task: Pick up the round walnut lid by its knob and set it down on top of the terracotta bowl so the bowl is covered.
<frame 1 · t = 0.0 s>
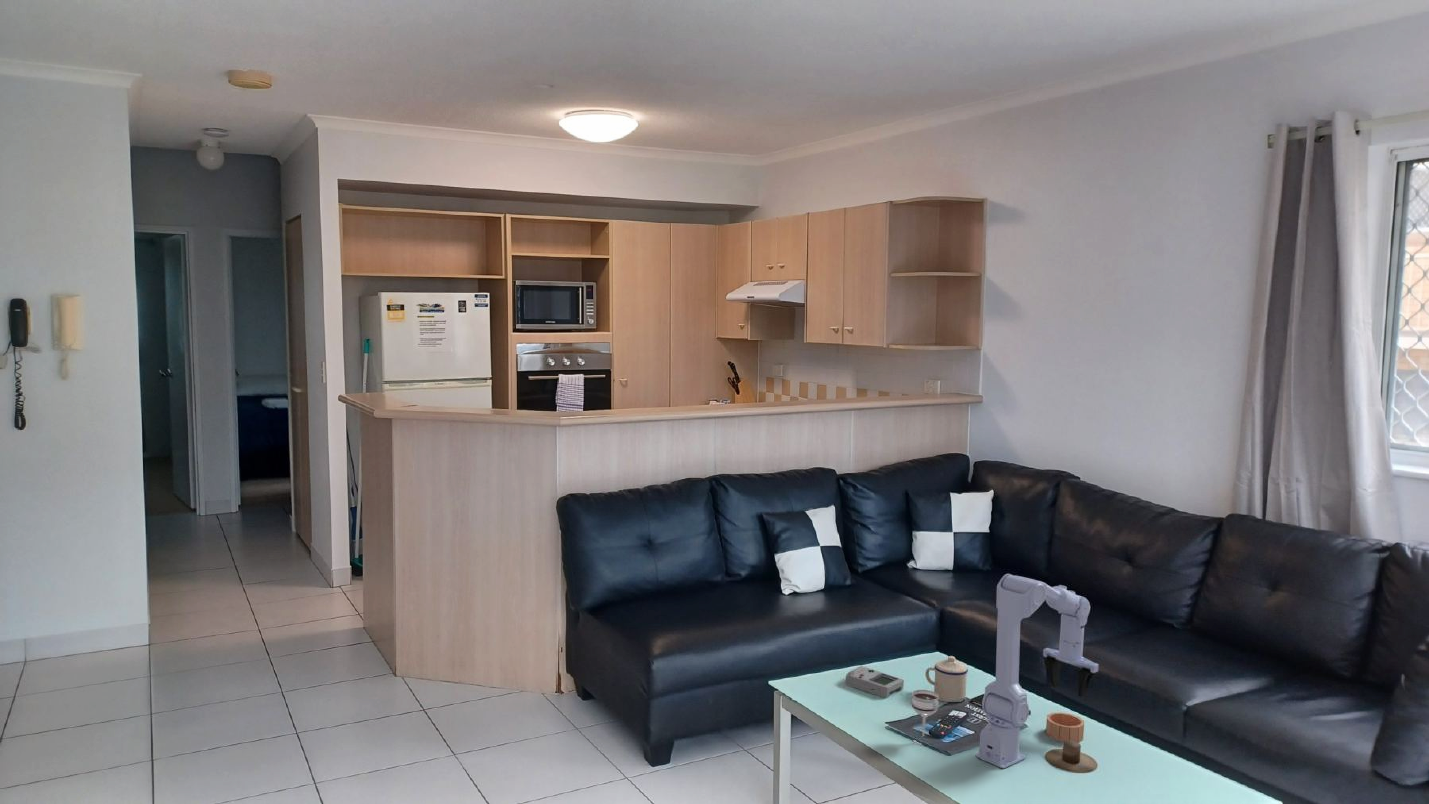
hand: (1068, 690, 249), 10 cm above the table, tool pointing down, fingers open, 7 cm apart
terracotta bowl: (1064, 734, 246), on the table
wineglass: (923, 741, 240), on the table
teacup with lid: (944, 696, 269), on the table
handheld gaming device: (873, 689, 274), on the table
phone: (999, 709, 262), on the table
walnut lid: (1070, 762, 232), on the table
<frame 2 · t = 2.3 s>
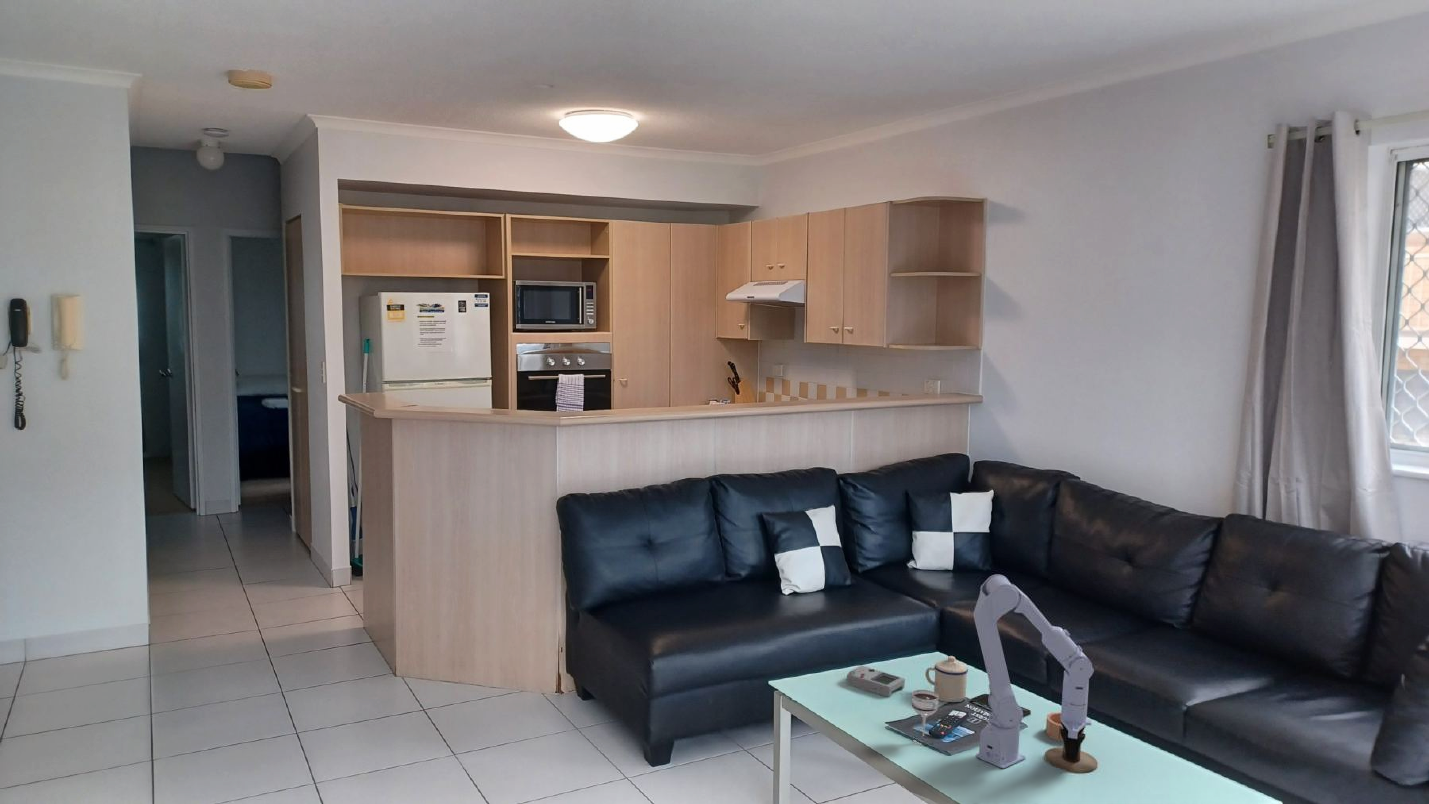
hand: (1071, 755, 231), 1 cm above the table, tool pointing down, fingers closed on walnut lid, 4 cm apart
walnut lid: (1070, 760, 232), on the table, touching gripper
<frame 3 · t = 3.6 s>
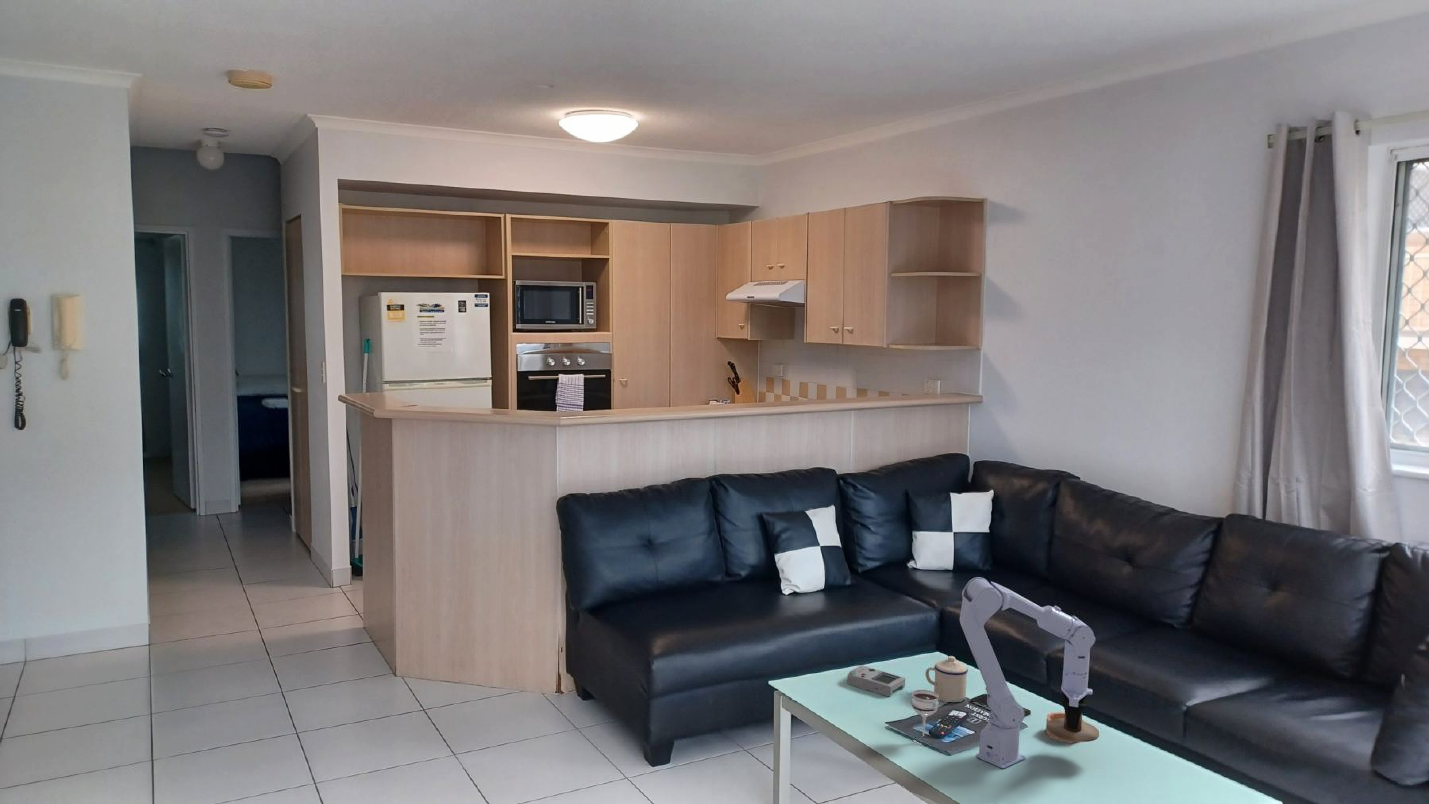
hand: (1072, 724, 232), 8 cm above the table, tool pointing down, fingers closed on walnut lid, 4 cm apart
walnut lid: (1072, 730, 232), point 7 cm above the table, touching gripper
when the fingers open (6 cm above the table, at t = 5.2 s): walnut lid stays where it is, resting on terracotta bowl.
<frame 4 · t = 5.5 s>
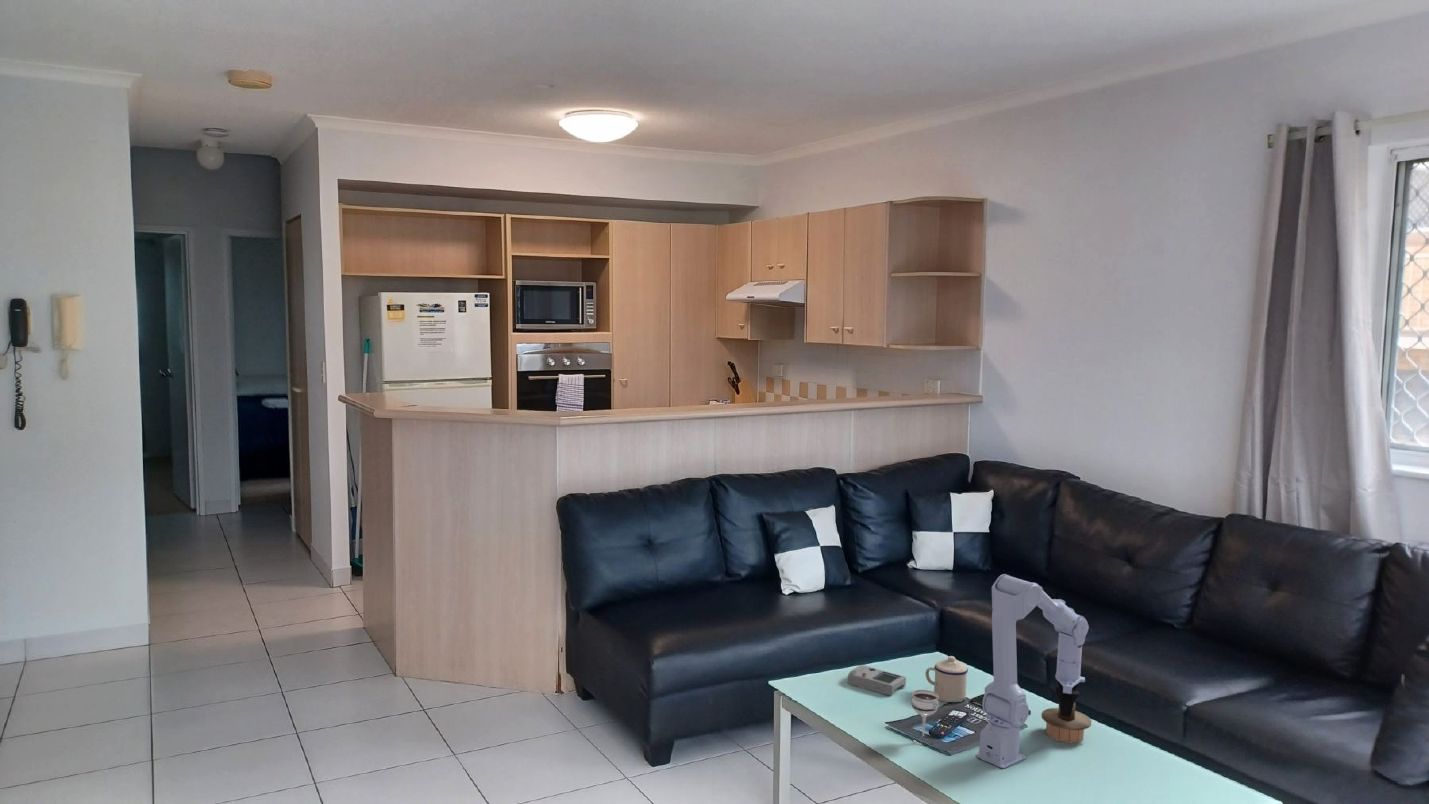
hand: (1065, 710, 245), 6 cm above the table, tool pointing down, fingers open, 6 cm apart
walnut lid: (1066, 719, 246), point 4 cm above the table, touching terracotta bowl
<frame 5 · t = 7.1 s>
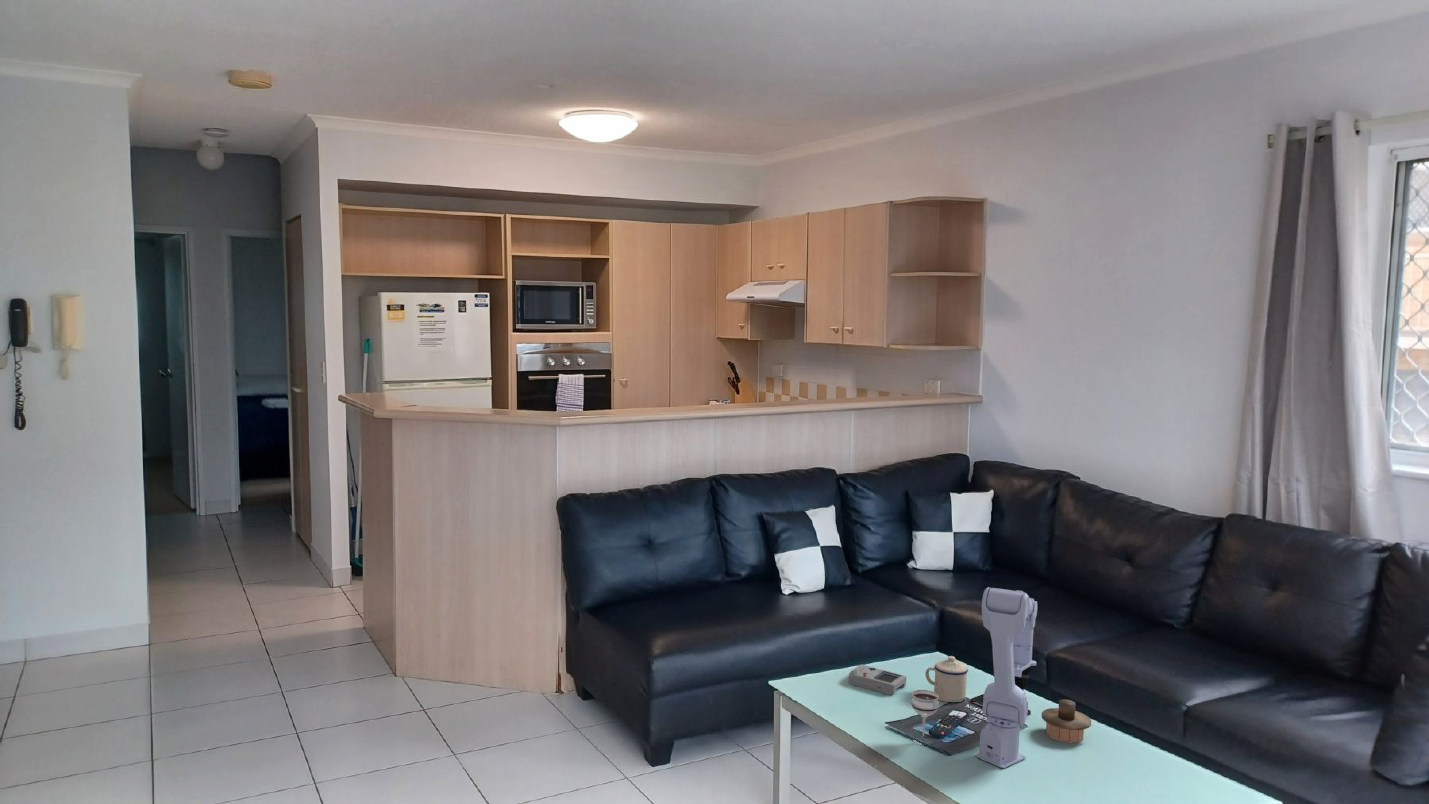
hand: (1017, 694, 246), 10 cm above the table, tool pointing down, fingers open, 7 cm apart
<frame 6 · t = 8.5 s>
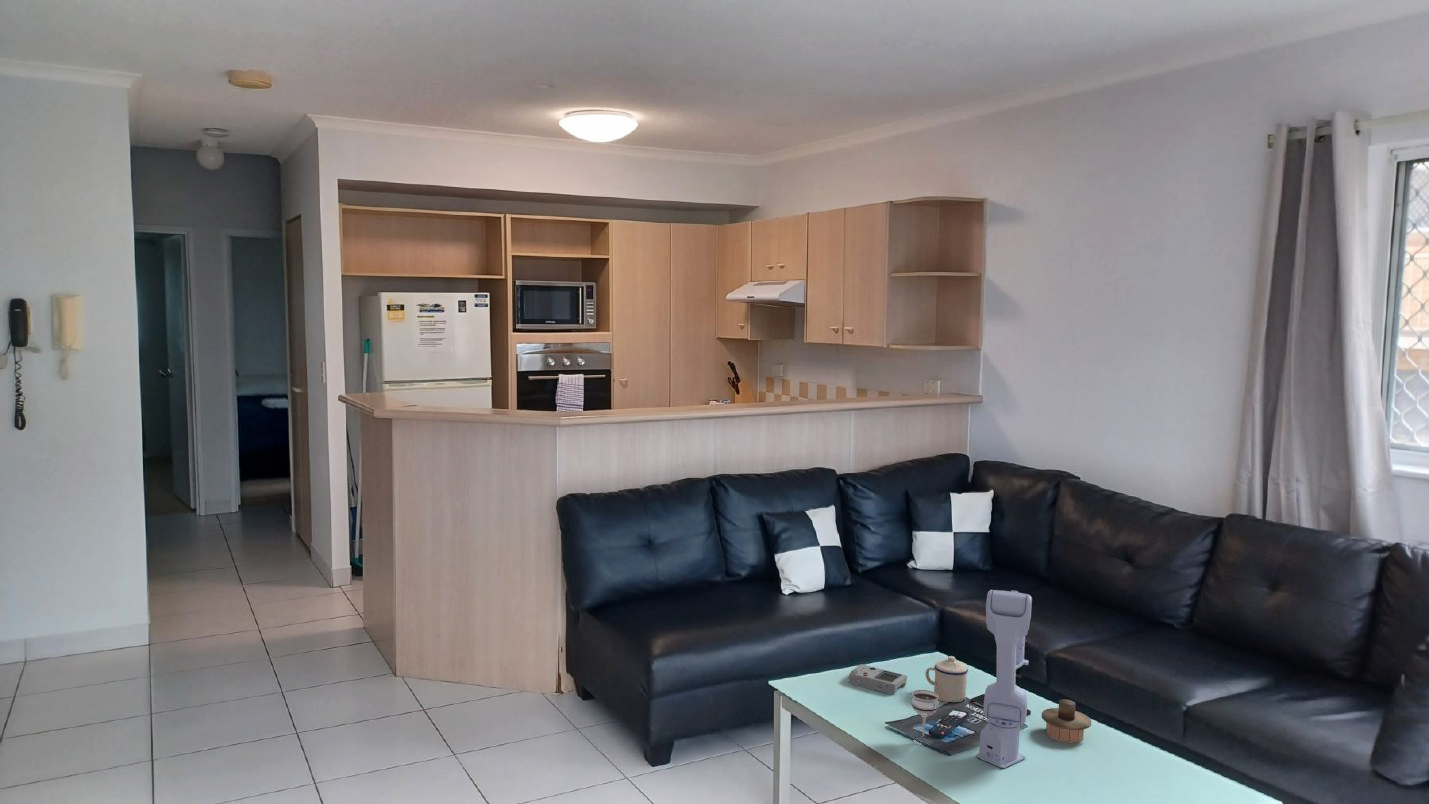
hand: (1010, 693, 247), 10 cm above the table, tool pointing down, fingers open, 7 cm apart
at the end: walnut lid 0.1 cm off-centre on the terracotta bowl, point 4.0 cm above the terracotta bowl's base; walnut lid tilted 0°; the gripper is holding nothing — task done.
